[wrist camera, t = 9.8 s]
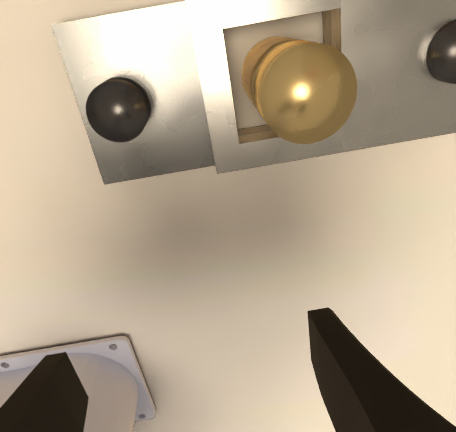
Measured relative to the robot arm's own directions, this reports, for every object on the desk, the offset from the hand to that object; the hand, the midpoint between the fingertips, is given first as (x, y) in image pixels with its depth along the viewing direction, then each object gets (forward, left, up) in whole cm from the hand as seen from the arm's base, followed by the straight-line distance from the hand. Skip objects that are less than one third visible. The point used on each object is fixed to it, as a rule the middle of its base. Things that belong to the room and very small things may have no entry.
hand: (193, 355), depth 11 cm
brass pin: (+5, +6, -10) cm, 13 cm away
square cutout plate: (+5, +6, -10) cm, 13 cm away
